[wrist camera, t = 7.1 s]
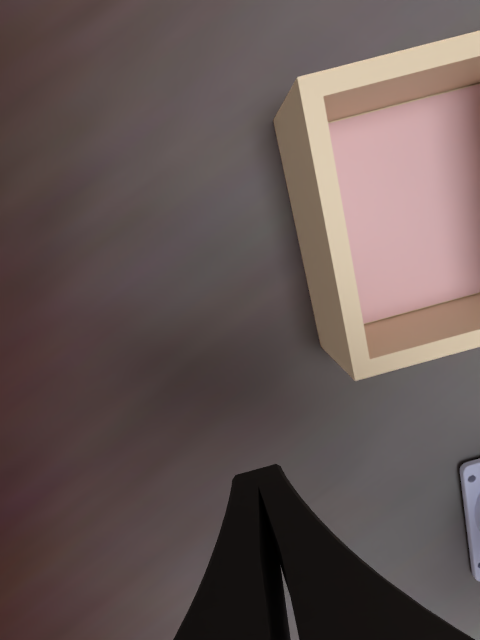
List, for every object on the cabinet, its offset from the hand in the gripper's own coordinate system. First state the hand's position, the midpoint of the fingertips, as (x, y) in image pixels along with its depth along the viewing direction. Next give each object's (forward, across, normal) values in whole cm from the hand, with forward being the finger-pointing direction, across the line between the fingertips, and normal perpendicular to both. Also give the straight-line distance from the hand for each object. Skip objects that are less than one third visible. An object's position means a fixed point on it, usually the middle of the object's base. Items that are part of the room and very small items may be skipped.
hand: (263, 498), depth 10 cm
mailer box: (+10, -14, -6) cm, 18 cm away
